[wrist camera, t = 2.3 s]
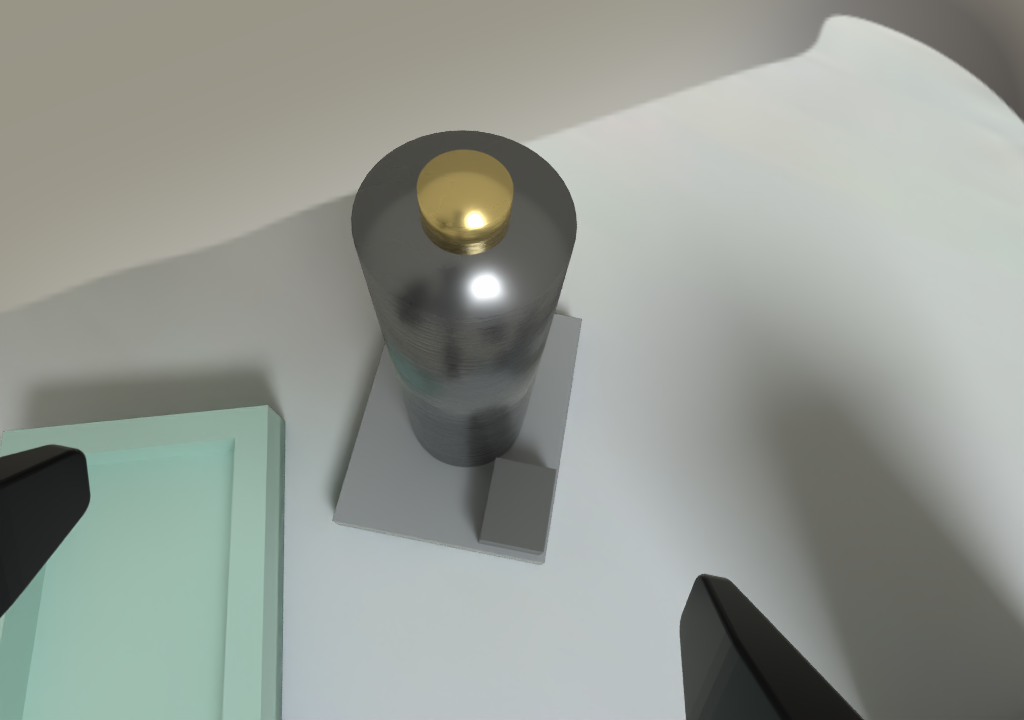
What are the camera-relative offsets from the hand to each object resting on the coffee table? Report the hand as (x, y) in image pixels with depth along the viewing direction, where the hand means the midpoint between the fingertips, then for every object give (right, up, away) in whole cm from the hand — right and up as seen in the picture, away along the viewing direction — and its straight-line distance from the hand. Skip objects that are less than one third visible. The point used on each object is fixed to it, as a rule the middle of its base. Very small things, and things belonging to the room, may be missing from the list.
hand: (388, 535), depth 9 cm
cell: (0, +1, +12) cm, 12 cm away
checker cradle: (0, 0, +13) cm, 13 cm away
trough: (-9, -6, +10) cm, 15 cm away
